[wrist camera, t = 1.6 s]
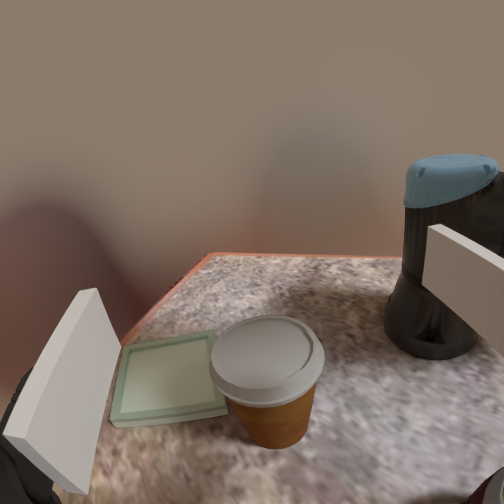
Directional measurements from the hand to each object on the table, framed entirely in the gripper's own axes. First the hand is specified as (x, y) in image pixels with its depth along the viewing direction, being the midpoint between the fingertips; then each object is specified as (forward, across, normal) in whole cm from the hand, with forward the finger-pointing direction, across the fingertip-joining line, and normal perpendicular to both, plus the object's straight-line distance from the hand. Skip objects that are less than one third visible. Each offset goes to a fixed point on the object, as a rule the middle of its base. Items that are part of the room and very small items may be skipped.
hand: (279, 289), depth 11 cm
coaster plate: (+19, -12, -22) cm, 32 cm away
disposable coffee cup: (+9, 0, -23) cm, 25 cm away
